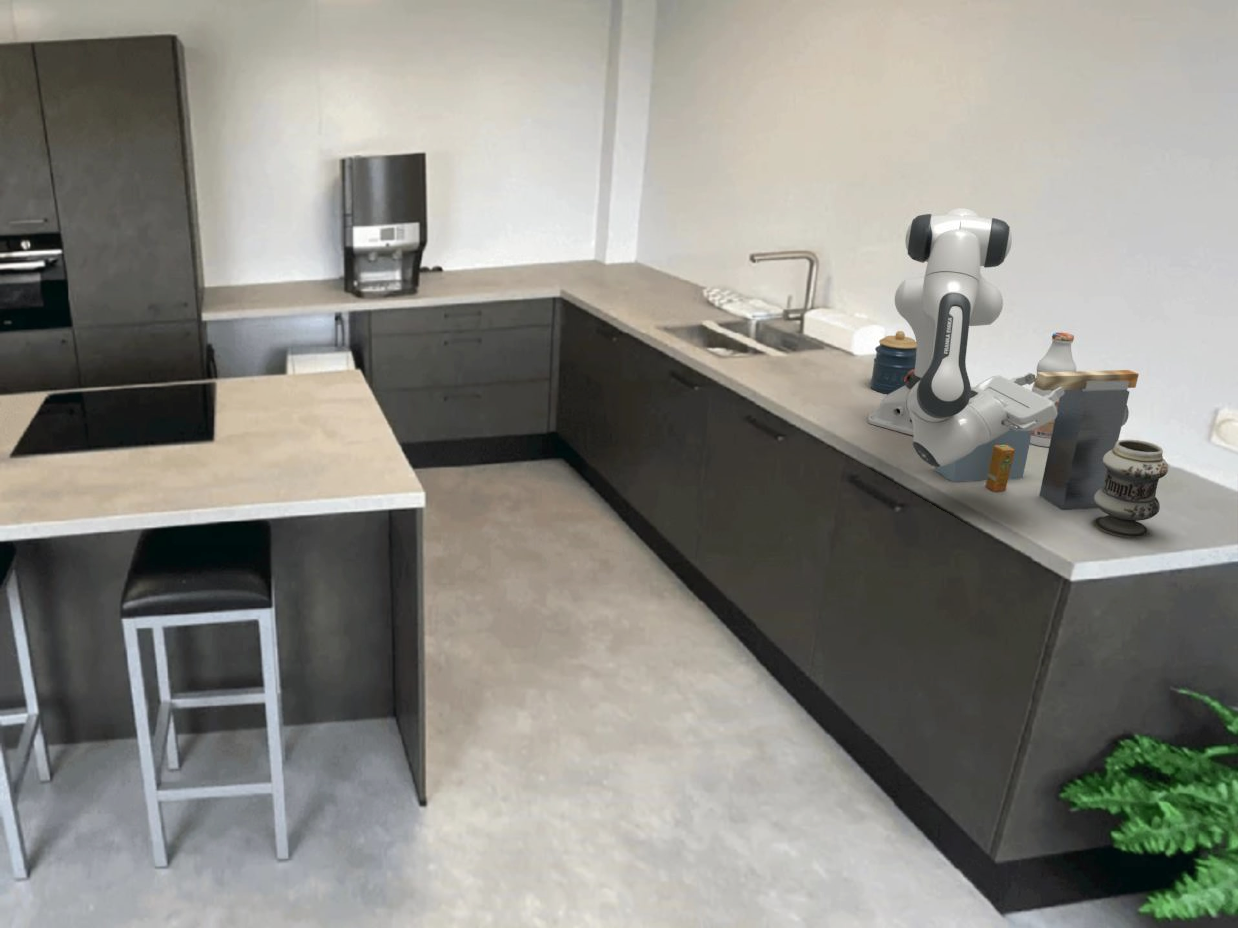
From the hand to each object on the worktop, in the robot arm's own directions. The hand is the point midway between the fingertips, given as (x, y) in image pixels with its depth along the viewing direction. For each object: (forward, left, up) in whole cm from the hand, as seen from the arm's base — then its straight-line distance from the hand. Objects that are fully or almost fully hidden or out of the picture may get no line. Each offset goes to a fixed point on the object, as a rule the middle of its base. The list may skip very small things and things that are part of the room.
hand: (1047, 382), depth 203 cm
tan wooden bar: (+7, +6, -1) cm, 9 cm away
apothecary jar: (+19, -1, -27) cm, 34 cm away
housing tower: (+8, +8, -27) cm, 30 cm away
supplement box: (-7, +6, -27) cm, 29 cm away
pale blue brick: (-12, +13, -27) cm, 33 cm away
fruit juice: (-5, +47, -27) cm, 55 cm away
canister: (-51, +69, -27) cm, 90 cm away
